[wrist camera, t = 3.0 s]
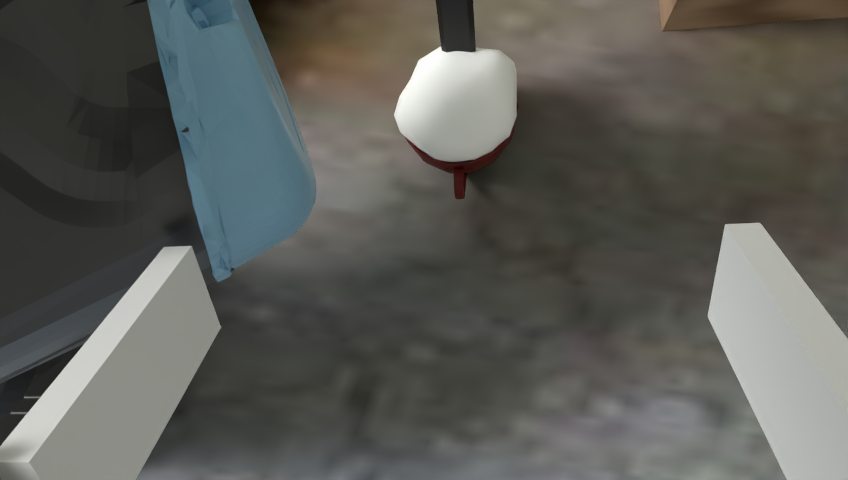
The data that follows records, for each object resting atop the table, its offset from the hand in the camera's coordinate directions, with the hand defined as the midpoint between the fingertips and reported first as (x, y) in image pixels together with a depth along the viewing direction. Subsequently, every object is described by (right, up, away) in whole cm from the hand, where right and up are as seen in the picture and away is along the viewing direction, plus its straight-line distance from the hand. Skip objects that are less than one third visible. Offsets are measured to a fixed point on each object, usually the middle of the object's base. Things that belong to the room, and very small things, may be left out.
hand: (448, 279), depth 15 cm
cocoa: (+2, +7, +20) cm, 22 cm away
